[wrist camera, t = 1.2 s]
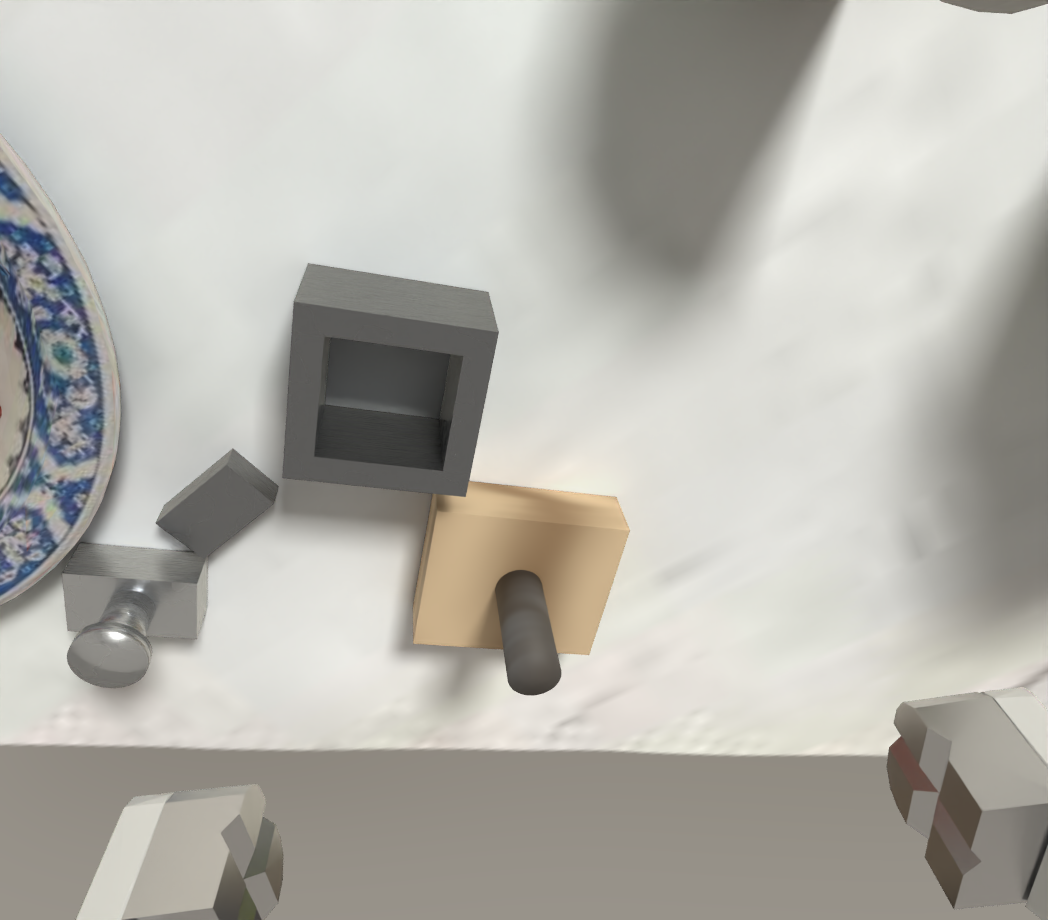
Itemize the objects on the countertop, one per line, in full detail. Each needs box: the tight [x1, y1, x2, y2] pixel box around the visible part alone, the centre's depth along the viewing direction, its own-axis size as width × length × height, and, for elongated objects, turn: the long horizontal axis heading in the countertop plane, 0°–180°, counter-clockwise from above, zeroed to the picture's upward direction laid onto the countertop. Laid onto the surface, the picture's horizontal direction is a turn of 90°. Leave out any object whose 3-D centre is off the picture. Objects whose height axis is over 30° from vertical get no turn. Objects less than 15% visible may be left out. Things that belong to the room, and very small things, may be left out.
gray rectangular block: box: [156, 449, 278, 559], centre depth 32 cm, size 4×2×2 cm, turn 128°
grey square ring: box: [283, 263, 499, 497], centre depth 28 cm, size 6×6×4 cm
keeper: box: [413, 481, 630, 695], centre depth 32 cm, size 8×7×8 cm
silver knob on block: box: [62, 543, 208, 688], centre depth 32 cm, size 5×3×5 cm, turn 78°
